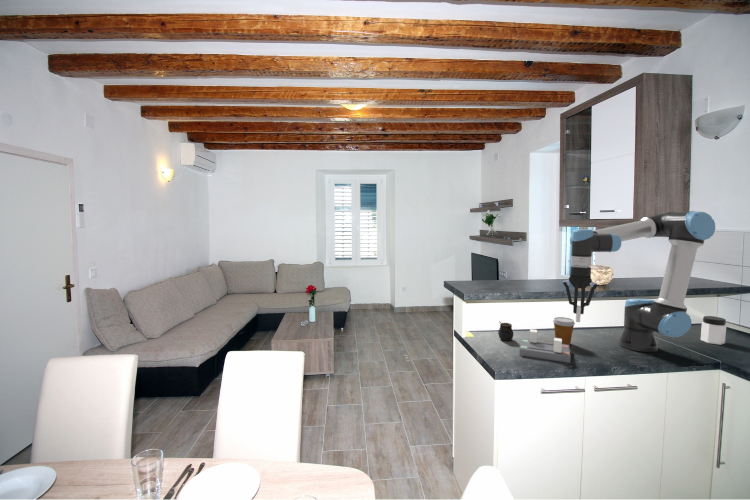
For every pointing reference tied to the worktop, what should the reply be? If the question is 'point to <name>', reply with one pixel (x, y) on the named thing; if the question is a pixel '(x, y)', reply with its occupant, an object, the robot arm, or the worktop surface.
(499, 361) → the worktop surface
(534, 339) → the block
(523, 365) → the worktop surface
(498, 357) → the worktop surface
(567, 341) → the disposable coffee cup
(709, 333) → the jar
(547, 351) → the panel
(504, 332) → the mate gourd
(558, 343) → the block
